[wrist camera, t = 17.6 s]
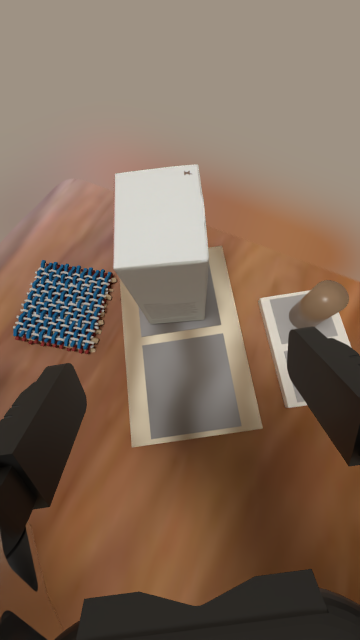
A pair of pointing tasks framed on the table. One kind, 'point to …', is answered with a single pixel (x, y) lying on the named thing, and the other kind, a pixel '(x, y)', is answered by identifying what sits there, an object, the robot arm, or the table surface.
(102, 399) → the table surface
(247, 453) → the table surface
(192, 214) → the small box
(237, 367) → the board
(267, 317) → the plate
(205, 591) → the table surface
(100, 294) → the woven mat
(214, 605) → the robot arm
